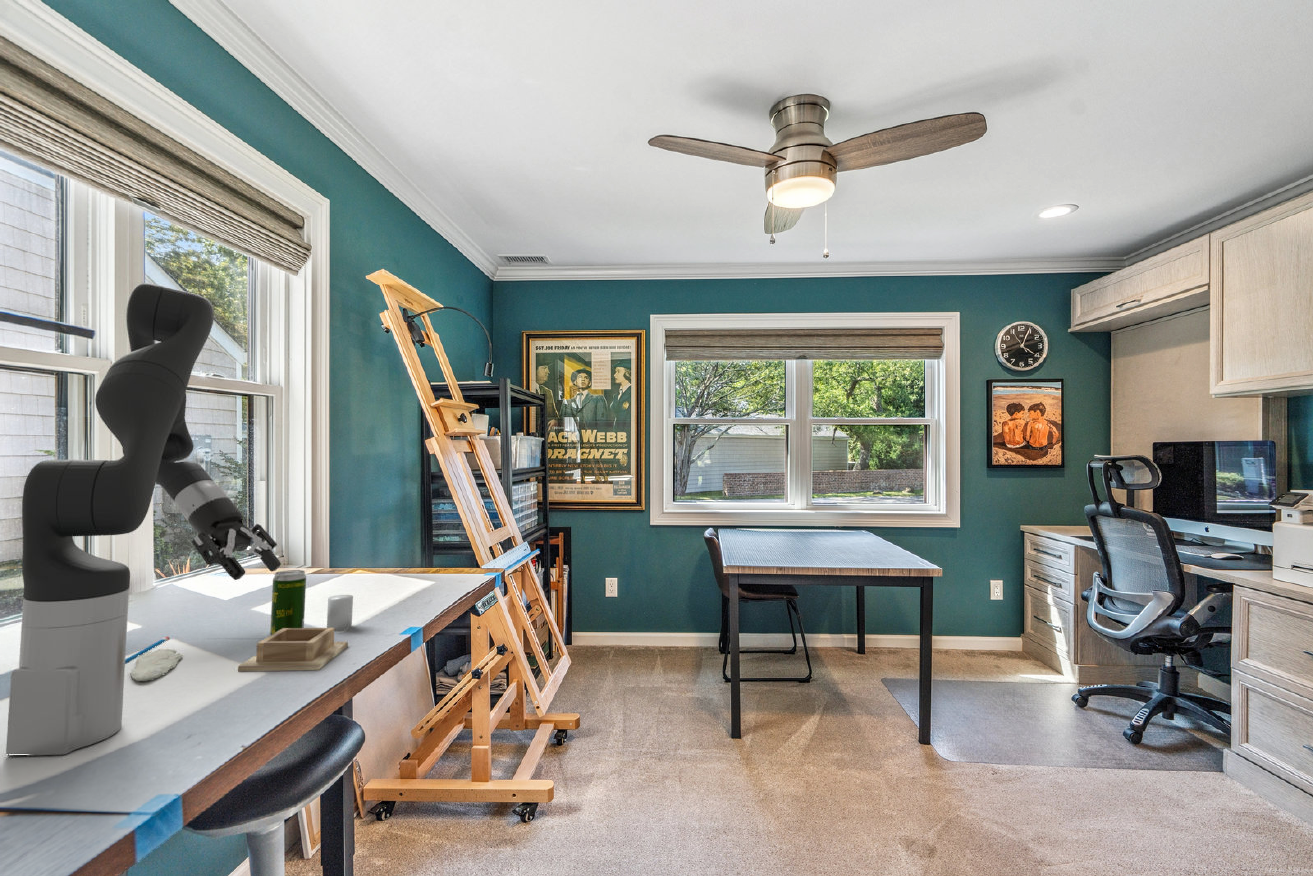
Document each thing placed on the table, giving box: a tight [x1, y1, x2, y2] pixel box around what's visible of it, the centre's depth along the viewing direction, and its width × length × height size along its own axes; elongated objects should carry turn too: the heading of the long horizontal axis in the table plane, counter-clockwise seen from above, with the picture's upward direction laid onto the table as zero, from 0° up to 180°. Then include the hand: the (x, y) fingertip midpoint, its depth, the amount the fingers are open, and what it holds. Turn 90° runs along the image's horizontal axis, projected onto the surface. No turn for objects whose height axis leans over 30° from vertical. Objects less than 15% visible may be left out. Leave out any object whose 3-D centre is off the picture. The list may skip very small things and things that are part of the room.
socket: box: [237, 627, 349, 672], centre depth 101 cm, size 12×12×4 cm
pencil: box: [125, 636, 170, 665], centre depth 101 cm, size 1×17×1 cm, turn 15°
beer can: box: [269, 569, 307, 636], centre depth 112 cm, size 5×5×12 cm
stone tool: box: [128, 648, 183, 682], centre depth 95 cm, size 6×2×15 cm
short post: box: [326, 594, 354, 632], centre depth 119 cm, size 4×4×6 cm
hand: (259, 572), depth 113 cm, fingers open, 8 cm apart
